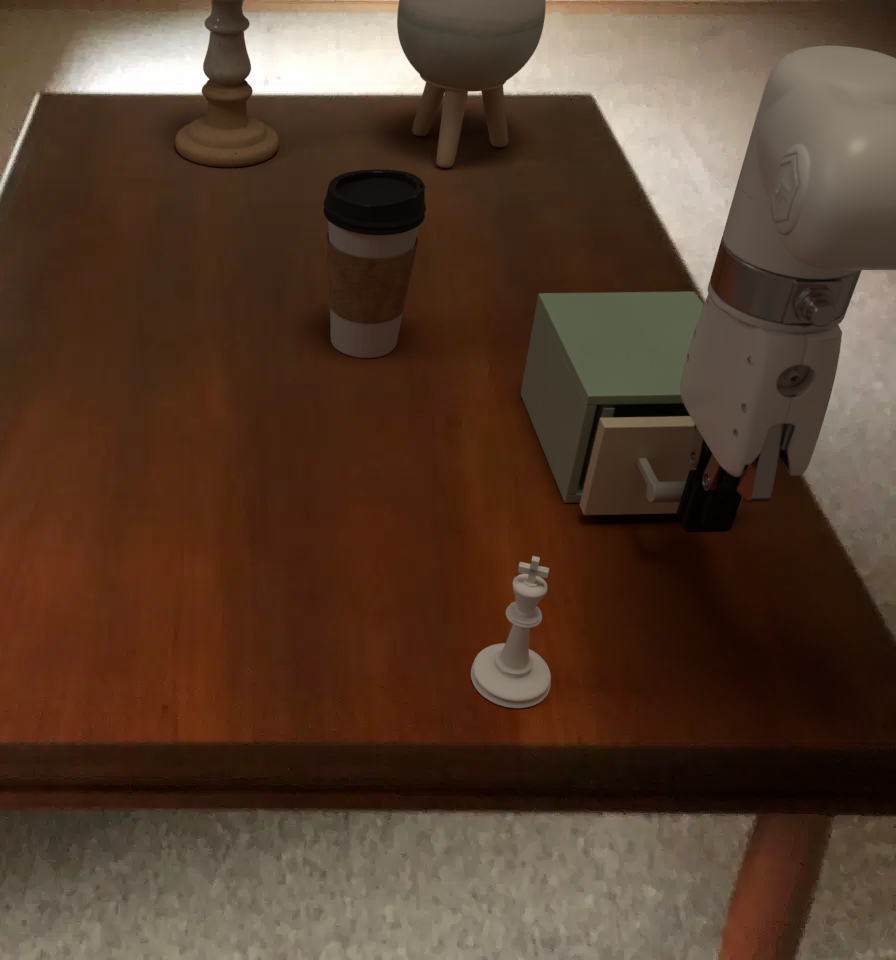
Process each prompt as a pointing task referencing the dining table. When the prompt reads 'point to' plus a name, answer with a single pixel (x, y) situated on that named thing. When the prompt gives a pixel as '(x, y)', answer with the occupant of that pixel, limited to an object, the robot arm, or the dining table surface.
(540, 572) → the chess piece
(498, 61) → the planter
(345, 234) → the coffee cup
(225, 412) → the dining table surface
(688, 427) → the drawer
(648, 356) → the cabinet
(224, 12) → the candle holder
